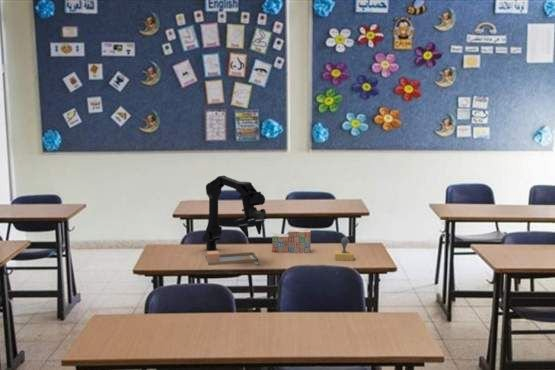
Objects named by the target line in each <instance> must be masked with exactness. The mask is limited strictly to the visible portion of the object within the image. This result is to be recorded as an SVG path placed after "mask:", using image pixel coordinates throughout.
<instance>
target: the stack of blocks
mask: <svg viewBox="0 0 555 370" xmlns="http://www.w3.org/2000/svg"><path fill="white" fill-rule="evenodd" d="M311 231H312V230H311V229H306V228H289V229H288V231H287V232H288V233H273V234H272V237H271V238H272V240H271V241H272V243H271V244H272V245H271V246H272V247H271V251H272V253H293V254H294V253H295V254H310V253H311V240H312V239H311V236H312V235H311V234H312V233H311ZM298 252H299V253H298ZM303 252H304V253H303Z"/></svg>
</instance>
